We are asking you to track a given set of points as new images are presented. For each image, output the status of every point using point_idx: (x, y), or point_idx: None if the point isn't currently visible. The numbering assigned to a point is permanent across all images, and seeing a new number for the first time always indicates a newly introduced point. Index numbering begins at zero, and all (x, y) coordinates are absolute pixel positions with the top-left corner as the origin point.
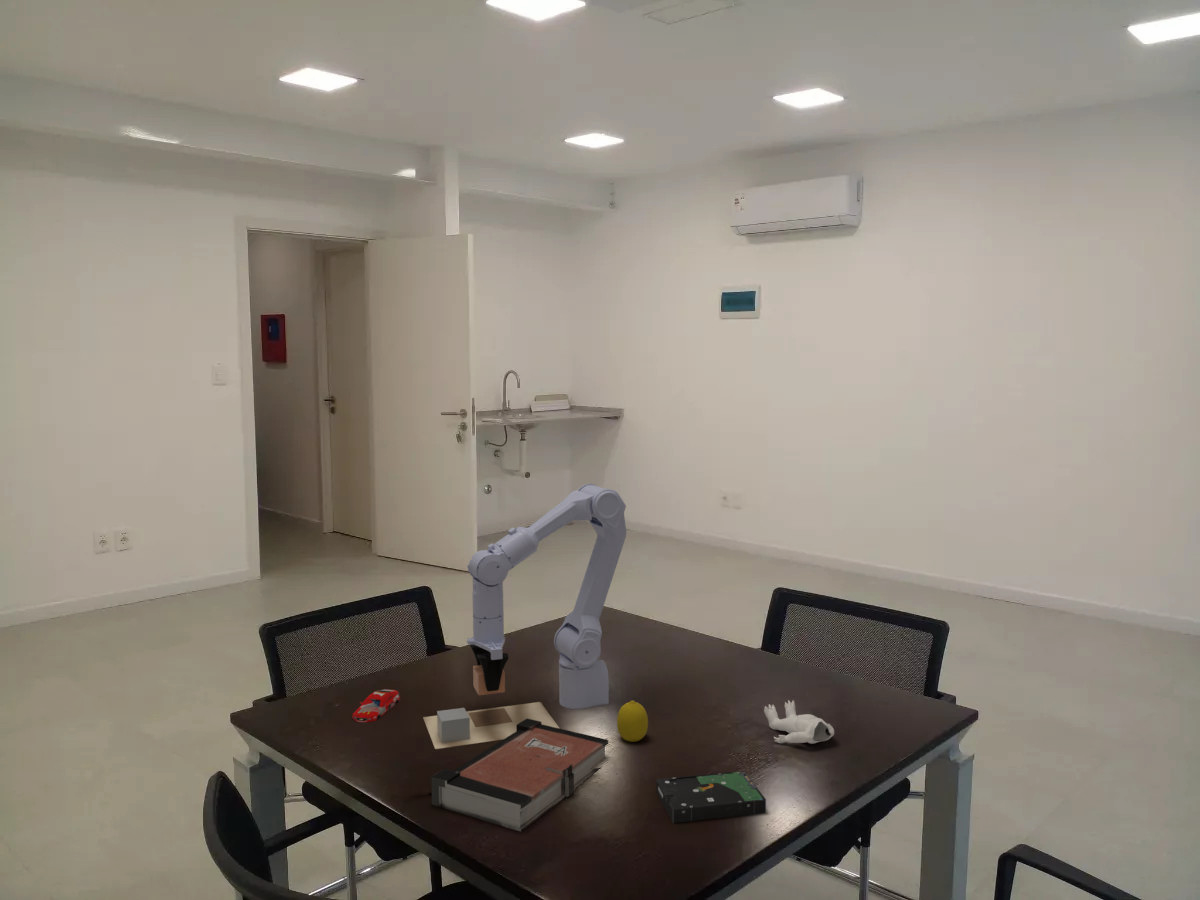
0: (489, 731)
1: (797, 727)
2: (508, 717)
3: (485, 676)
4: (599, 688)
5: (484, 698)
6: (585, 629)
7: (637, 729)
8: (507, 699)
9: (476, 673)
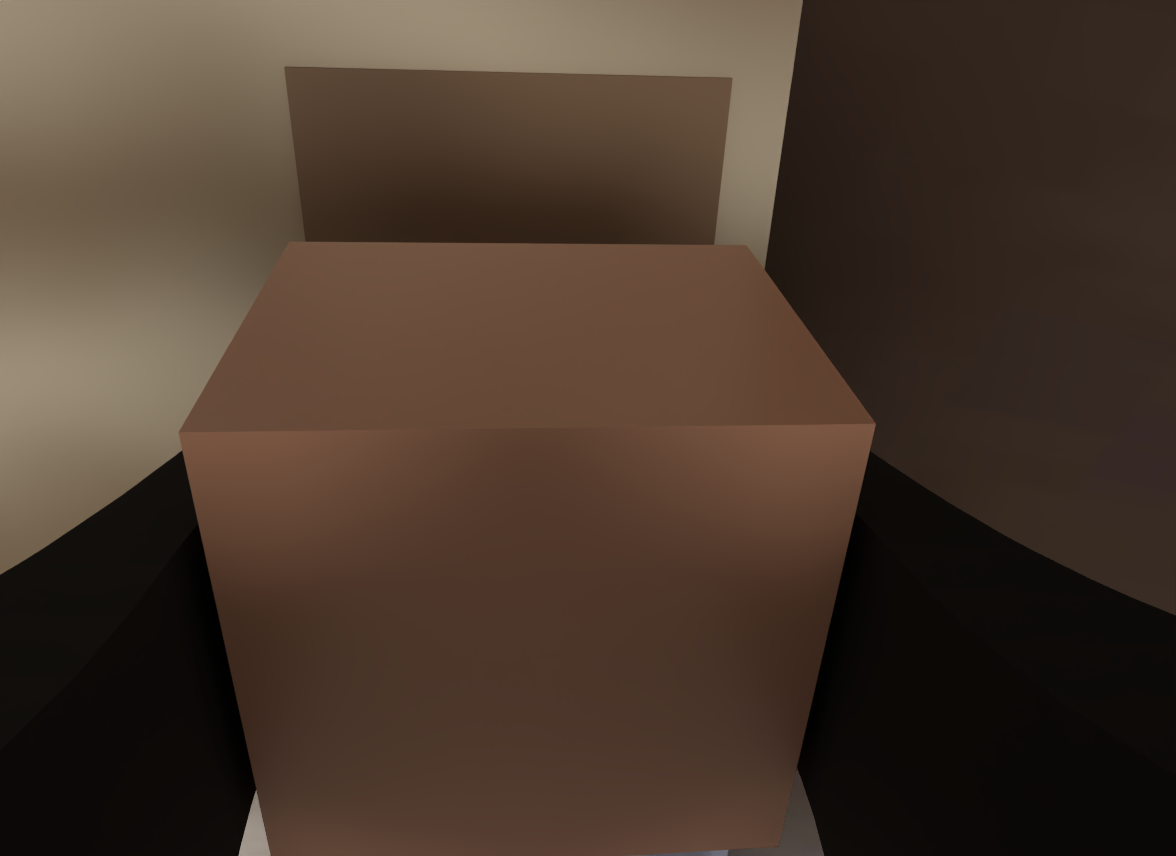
0: (124, 194)
1: None
2: None
3: (33, 554)
4: None
5: (1124, 333)
6: None
7: None
8: (976, 504)
9: (434, 403)
